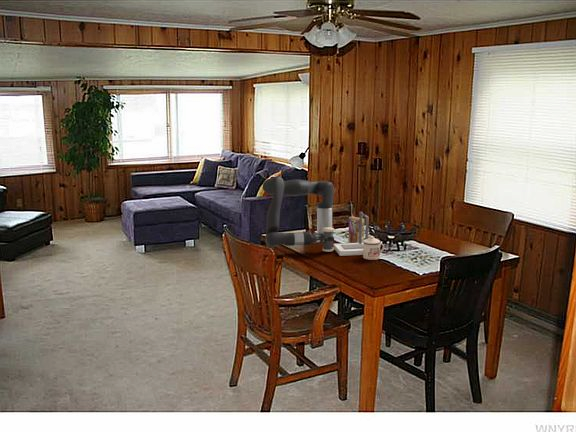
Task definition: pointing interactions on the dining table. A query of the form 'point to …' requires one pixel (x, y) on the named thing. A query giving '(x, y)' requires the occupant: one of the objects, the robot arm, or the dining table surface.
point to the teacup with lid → (372, 248)
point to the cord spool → (328, 246)
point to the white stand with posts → (353, 247)
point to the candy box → (355, 230)
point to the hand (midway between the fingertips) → (332, 237)
